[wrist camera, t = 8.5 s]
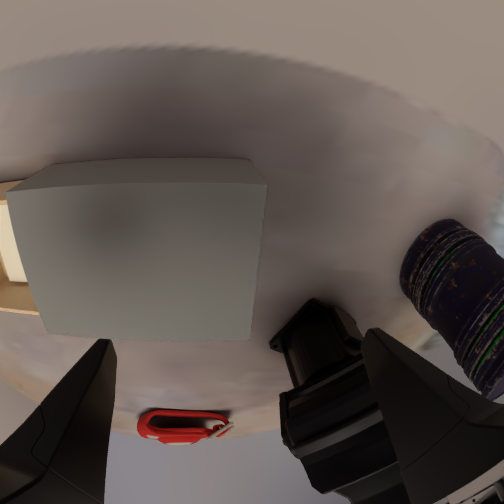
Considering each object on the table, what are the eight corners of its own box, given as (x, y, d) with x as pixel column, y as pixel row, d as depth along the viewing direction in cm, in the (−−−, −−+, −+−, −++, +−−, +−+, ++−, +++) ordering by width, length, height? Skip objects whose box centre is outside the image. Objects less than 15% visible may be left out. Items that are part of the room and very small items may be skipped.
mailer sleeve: (249, 159, 19) (267, 185, 13) (238, 286, 23) (249, 340, 18) (51, 164, 16) (5, 192, 11) (72, 283, 21) (47, 333, 16)
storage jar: (477, 234, 25) (568, 312, 13) (435, 304, 30) (506, 395, 17) (431, 203, 22) (555, 301, 10) (381, 292, 27) (465, 413, 14)
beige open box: (138, 159, 17) (83, 217, 9) (148, 289, 22) (129, 391, 14) (-21, 176, 14) (-99, 230, 6) (6, 283, 19) (-42, 357, 11)
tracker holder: (189, 447, 36) (128, 444, 30) (186, 420, 39) (127, 414, 33) (245, 438, 31) (175, 439, 24) (239, 405, 33) (171, 400, 27)
